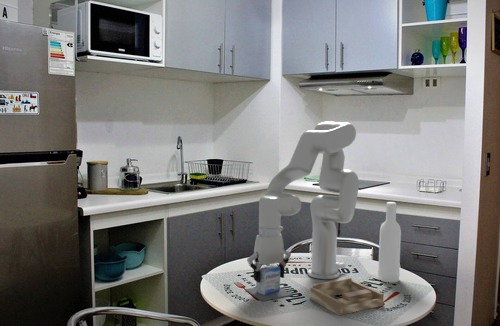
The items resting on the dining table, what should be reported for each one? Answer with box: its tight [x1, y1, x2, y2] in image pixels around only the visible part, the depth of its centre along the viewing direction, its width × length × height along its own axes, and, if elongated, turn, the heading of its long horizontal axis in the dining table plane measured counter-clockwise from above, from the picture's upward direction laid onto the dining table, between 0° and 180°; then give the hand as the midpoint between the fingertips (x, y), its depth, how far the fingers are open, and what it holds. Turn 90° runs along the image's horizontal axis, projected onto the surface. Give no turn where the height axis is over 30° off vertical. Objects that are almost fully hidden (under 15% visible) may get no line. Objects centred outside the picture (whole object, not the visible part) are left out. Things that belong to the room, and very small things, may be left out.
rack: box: [309, 277, 384, 316], centre depth 170 cm, size 18×16×5 cm
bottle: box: [377, 201, 402, 283], centre depth 193 cm, size 8×8×30 cm
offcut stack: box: [336, 289, 373, 306], centre depth 166 cm, size 14×4×5 cm, turn 119°
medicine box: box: [255, 264, 281, 295], centre depth 178 cm, size 8×4×9 cm, turn 133°
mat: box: [245, 287, 293, 302], centre depth 178 cm, size 12×12×1 cm
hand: (269, 279), depth 177 cm, fingers open, 9 cm apart
